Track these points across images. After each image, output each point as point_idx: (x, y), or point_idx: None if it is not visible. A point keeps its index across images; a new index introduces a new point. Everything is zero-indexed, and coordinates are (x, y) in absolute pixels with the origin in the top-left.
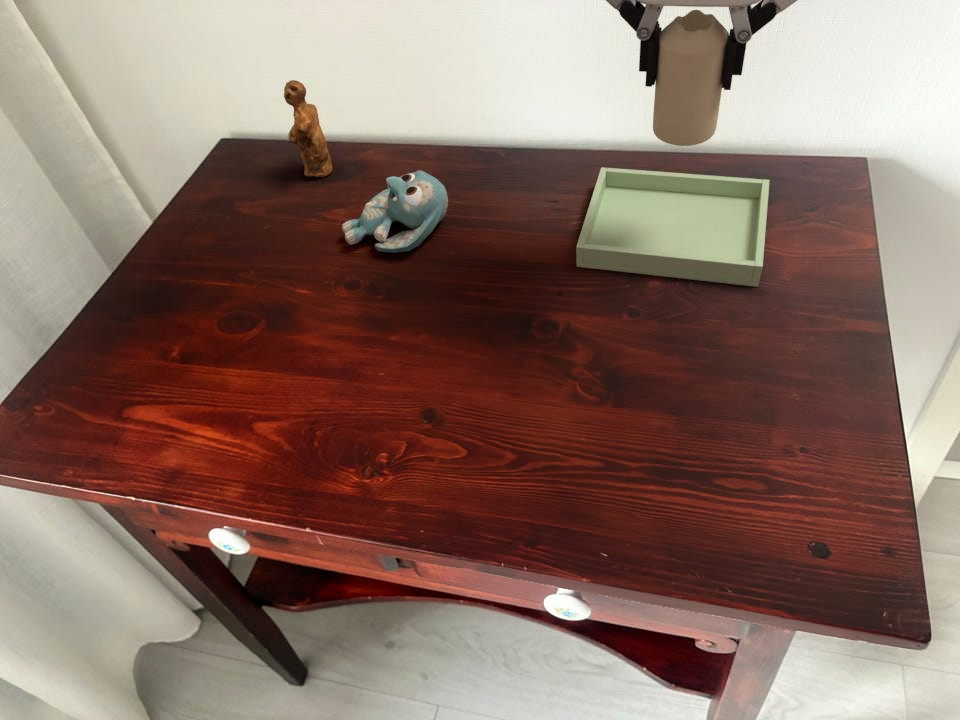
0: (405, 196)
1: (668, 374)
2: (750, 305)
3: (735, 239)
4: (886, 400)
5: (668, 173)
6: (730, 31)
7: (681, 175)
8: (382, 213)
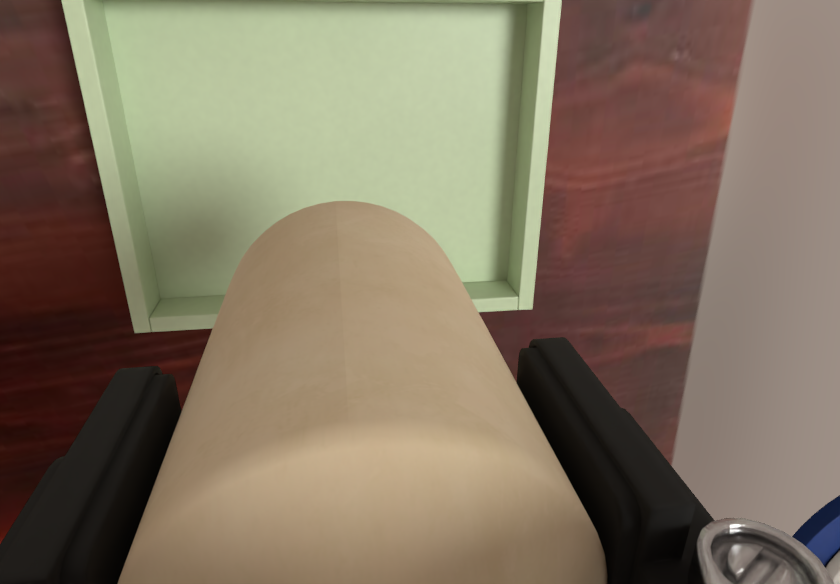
0: None
1: None
2: (502, 331)
3: (474, 174)
4: (669, 452)
5: None
6: (622, 558)
7: None
8: None
